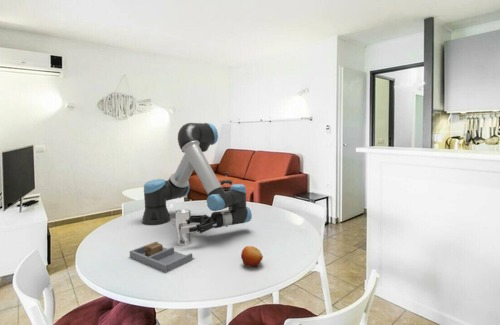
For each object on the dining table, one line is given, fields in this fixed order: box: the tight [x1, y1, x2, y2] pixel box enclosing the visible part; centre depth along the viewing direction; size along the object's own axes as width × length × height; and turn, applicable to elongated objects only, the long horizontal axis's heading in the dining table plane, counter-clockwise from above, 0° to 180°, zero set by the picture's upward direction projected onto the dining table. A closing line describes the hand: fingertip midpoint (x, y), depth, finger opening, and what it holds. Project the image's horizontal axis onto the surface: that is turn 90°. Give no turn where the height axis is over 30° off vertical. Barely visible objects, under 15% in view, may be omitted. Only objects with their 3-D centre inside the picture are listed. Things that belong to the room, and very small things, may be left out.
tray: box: [129, 241, 196, 274], centre depth 115 cm, size 23×14×3 cm, turn 54°
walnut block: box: [144, 241, 163, 257], centre depth 118 cm, size 5×5×4 cm
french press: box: [219, 171, 234, 192], centre depth 199 cm, size 12×9×23 cm
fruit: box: [240, 245, 263, 268], centre depth 109 cm, size 8×8×8 cm
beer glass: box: [174, 208, 192, 246], centre depth 131 cm, size 7×7×15 cm
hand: (176, 226), depth 129 cm, fingers open, 13 cm apart
